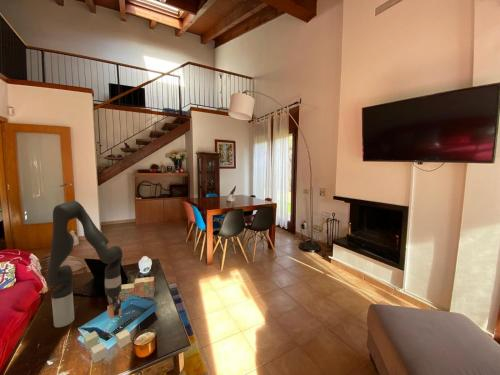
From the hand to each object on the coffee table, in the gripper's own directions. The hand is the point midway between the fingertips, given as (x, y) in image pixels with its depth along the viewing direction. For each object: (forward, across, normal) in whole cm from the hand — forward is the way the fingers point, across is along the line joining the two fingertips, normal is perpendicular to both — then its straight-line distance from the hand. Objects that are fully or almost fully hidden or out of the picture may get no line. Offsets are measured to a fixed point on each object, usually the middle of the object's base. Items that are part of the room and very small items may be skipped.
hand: (114, 312), depth 121 cm
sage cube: (+11, 0, -11) cm, 16 cm away
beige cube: (+11, +11, -11) cm, 20 cm away
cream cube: (+11, +11, 0) cm, 16 cm away
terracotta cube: (+1, 0, 0) cm, 1 cm away
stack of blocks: (+12, -23, +22) cm, 34 cm away
